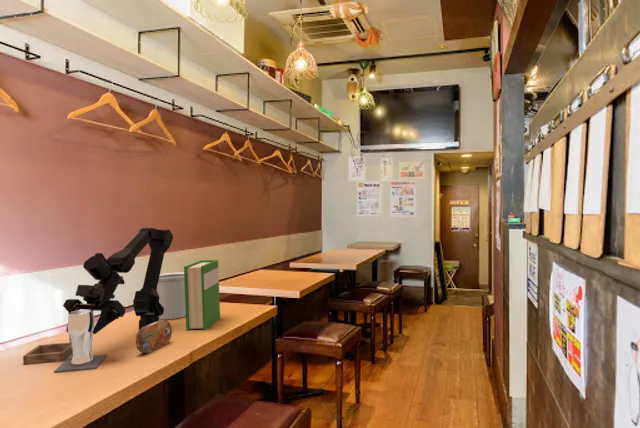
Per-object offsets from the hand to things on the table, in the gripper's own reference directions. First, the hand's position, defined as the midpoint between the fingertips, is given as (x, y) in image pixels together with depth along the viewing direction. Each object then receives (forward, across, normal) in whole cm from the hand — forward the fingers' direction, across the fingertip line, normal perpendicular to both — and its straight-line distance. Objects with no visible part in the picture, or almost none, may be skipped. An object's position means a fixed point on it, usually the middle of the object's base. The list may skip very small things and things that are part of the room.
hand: (80, 332), depth 128 cm
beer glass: (+6, 0, +7) cm, 9 cm away
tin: (-4, +13, +18) cm, 23 cm away
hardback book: (-25, +15, +39) cm, 49 cm away
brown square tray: (+4, -15, +9) cm, 18 cm away
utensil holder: (-33, -5, +47) cm, 57 cm away
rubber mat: (+7, 0, +7) cm, 9 cm away
